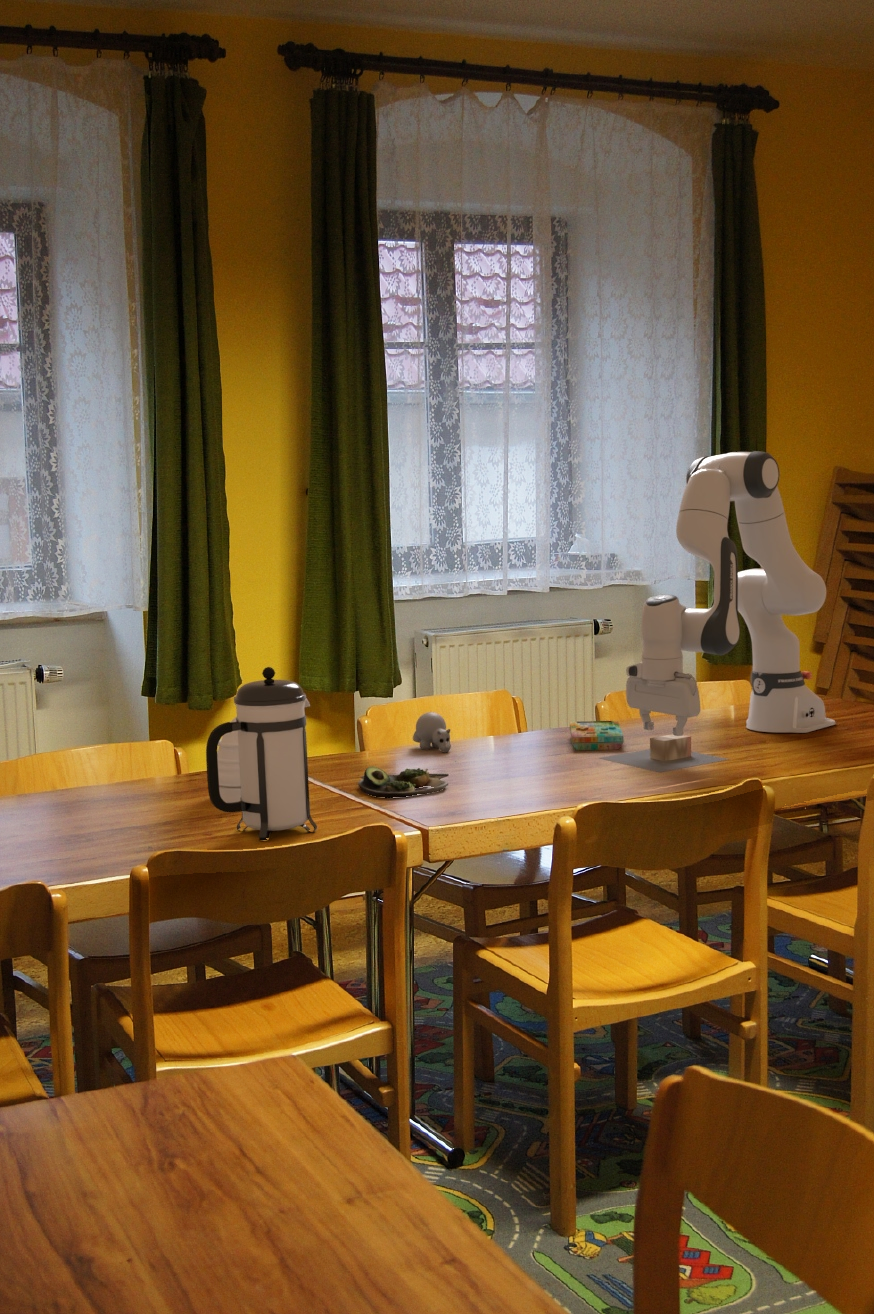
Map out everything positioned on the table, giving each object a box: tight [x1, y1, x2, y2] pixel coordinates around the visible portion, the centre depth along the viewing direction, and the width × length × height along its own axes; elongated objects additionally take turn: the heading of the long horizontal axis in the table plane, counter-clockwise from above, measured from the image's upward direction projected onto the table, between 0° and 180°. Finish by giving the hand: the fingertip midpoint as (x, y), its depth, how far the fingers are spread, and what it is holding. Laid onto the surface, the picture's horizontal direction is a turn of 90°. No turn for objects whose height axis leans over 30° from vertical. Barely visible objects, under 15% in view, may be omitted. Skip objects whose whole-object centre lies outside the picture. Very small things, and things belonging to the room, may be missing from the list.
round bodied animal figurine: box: [412, 711, 452, 753], centre depth 304 cm, size 7×12×8 cm, turn 30°
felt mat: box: [599, 748, 730, 773], centre depth 284 cm, size 20×20×1 cm
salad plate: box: [357, 766, 449, 799], centre depth 266 cm, size 19×18×5 cm
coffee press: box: [205, 666, 318, 841], centre depth 231 cm, size 17×16×30 cm
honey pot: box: [217, 715, 241, 803], centre depth 261 cm, size 13×13×18 cm
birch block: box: [649, 733, 692, 761], centre depth 285 cm, size 4×4×8 cm
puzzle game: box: [569, 720, 624, 751], centre depth 305 cm, size 12×5×20 cm
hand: (663, 732), depth 283 cm, fingers open, 8 cm apart
